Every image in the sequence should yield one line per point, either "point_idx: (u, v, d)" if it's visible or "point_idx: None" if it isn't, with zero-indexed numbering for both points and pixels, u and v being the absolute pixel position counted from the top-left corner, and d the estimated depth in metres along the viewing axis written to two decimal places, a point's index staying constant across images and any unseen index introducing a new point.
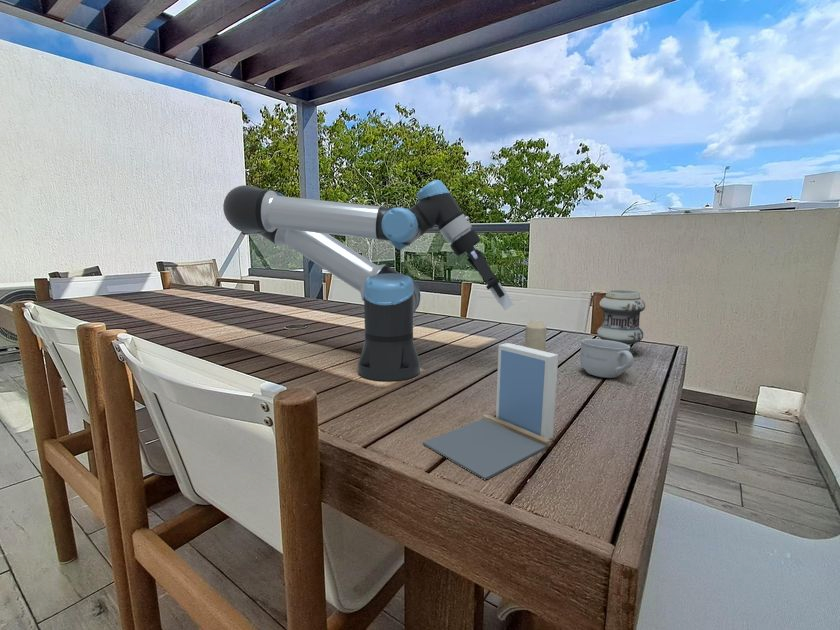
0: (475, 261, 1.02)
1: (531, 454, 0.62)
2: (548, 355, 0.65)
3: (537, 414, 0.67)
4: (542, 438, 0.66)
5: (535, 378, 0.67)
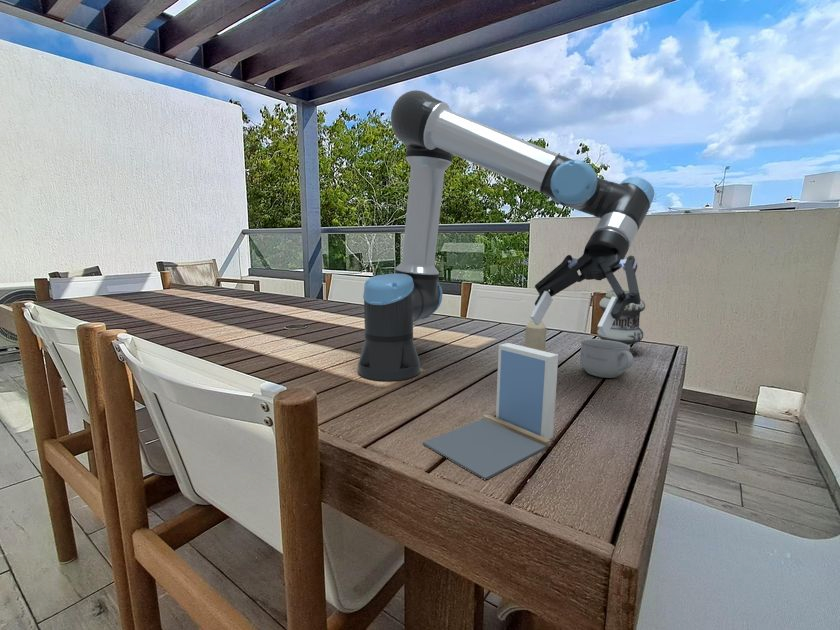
0: (632, 267, 0.75)
1: (531, 454, 0.62)
2: (548, 355, 0.65)
3: (537, 414, 0.67)
4: (542, 438, 0.66)
5: (535, 378, 0.67)
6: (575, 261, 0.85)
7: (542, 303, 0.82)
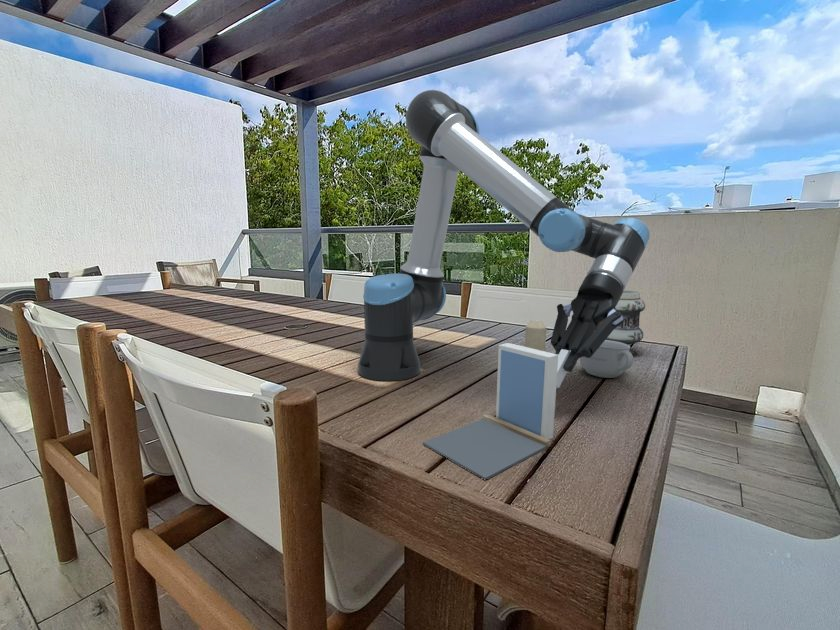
0: (610, 323, 0.75)
1: (531, 454, 0.62)
2: (548, 355, 0.65)
3: (537, 414, 0.67)
4: (542, 438, 0.66)
5: (535, 378, 0.67)
6: (569, 307, 0.83)
7: None
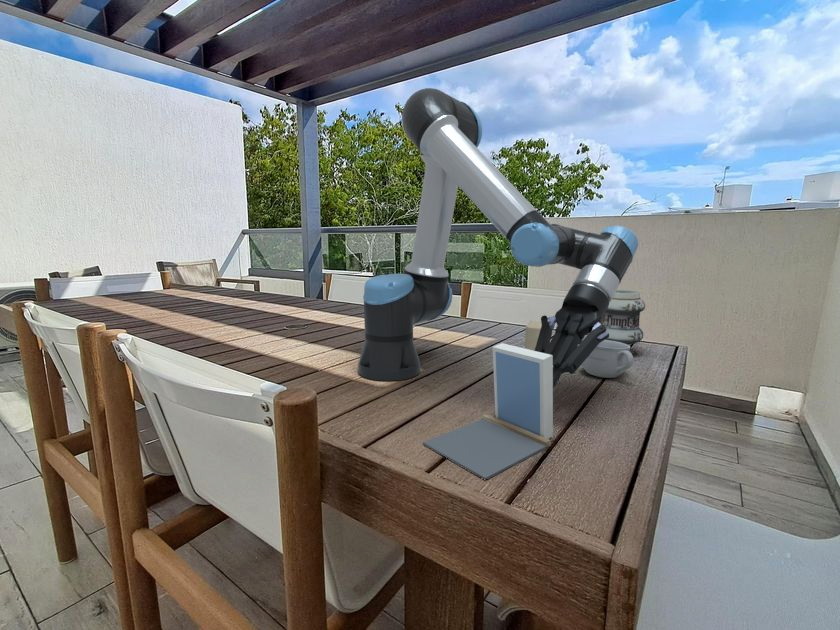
0: (595, 337, 0.72)
1: (531, 454, 0.62)
2: (542, 357, 0.64)
3: (535, 415, 0.67)
4: (542, 438, 0.66)
5: (531, 380, 0.66)
6: (553, 318, 0.80)
7: None
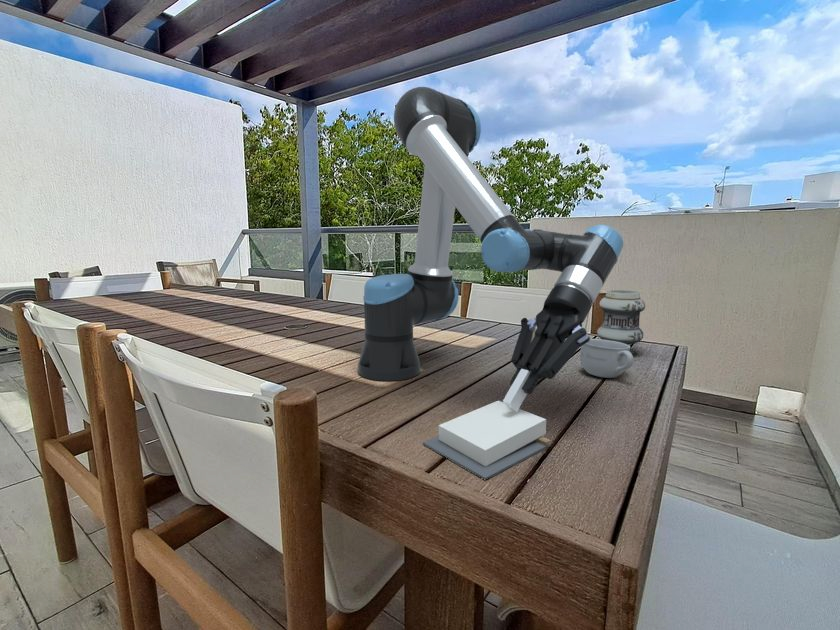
0: (574, 341, 0.68)
1: (531, 454, 0.62)
2: (481, 458, 0.59)
3: None
4: (542, 438, 0.66)
5: None
6: (533, 321, 0.76)
7: None
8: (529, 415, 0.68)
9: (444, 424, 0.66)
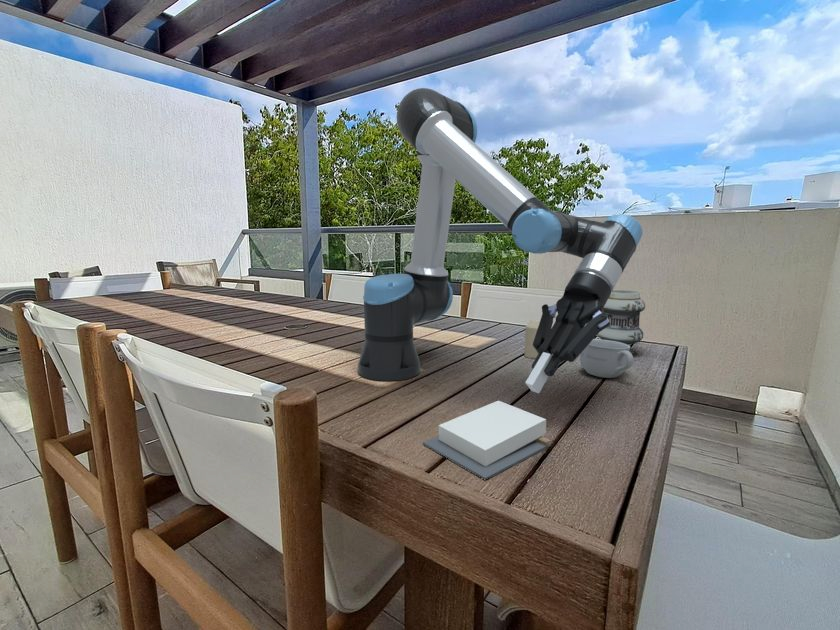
0: (595, 326, 0.71)
1: (531, 454, 0.62)
2: (481, 458, 0.59)
3: None
4: (542, 438, 0.66)
5: None
6: (554, 307, 0.79)
7: None
8: (529, 415, 0.68)
9: (444, 424, 0.66)
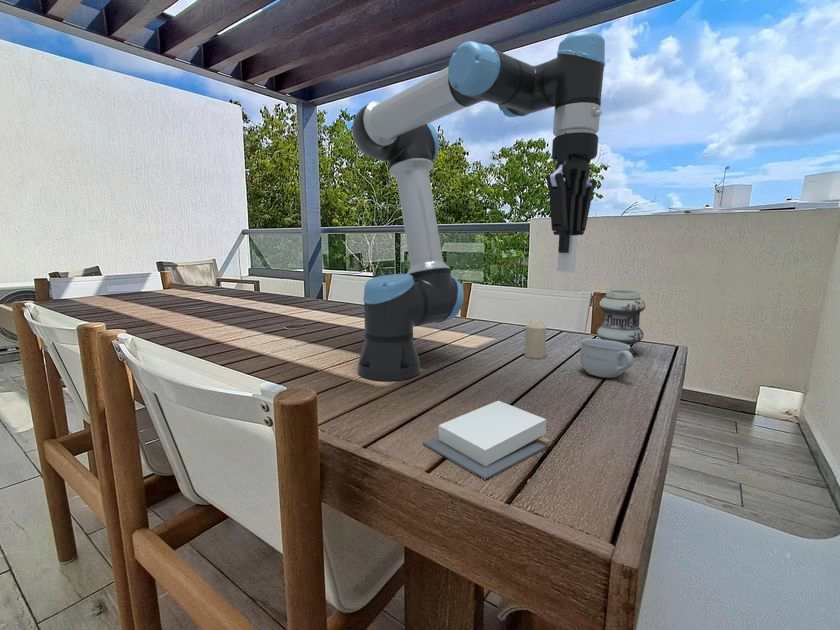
0: (551, 190, 0.72)
1: (531, 454, 0.62)
2: (481, 458, 0.59)
3: None
4: (542, 438, 0.66)
5: None
6: None
7: None
8: (529, 415, 0.68)
9: (444, 424, 0.66)
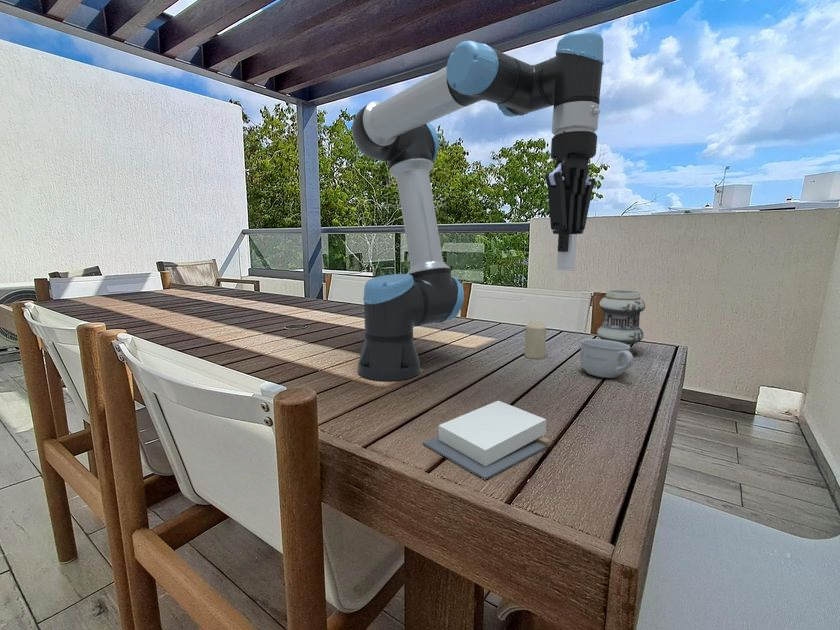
0: (550, 188, 0.72)
1: (531, 454, 0.62)
2: (481, 458, 0.59)
3: None
4: (542, 438, 0.66)
5: None
6: None
7: None
8: (529, 415, 0.68)
9: (444, 424, 0.66)
